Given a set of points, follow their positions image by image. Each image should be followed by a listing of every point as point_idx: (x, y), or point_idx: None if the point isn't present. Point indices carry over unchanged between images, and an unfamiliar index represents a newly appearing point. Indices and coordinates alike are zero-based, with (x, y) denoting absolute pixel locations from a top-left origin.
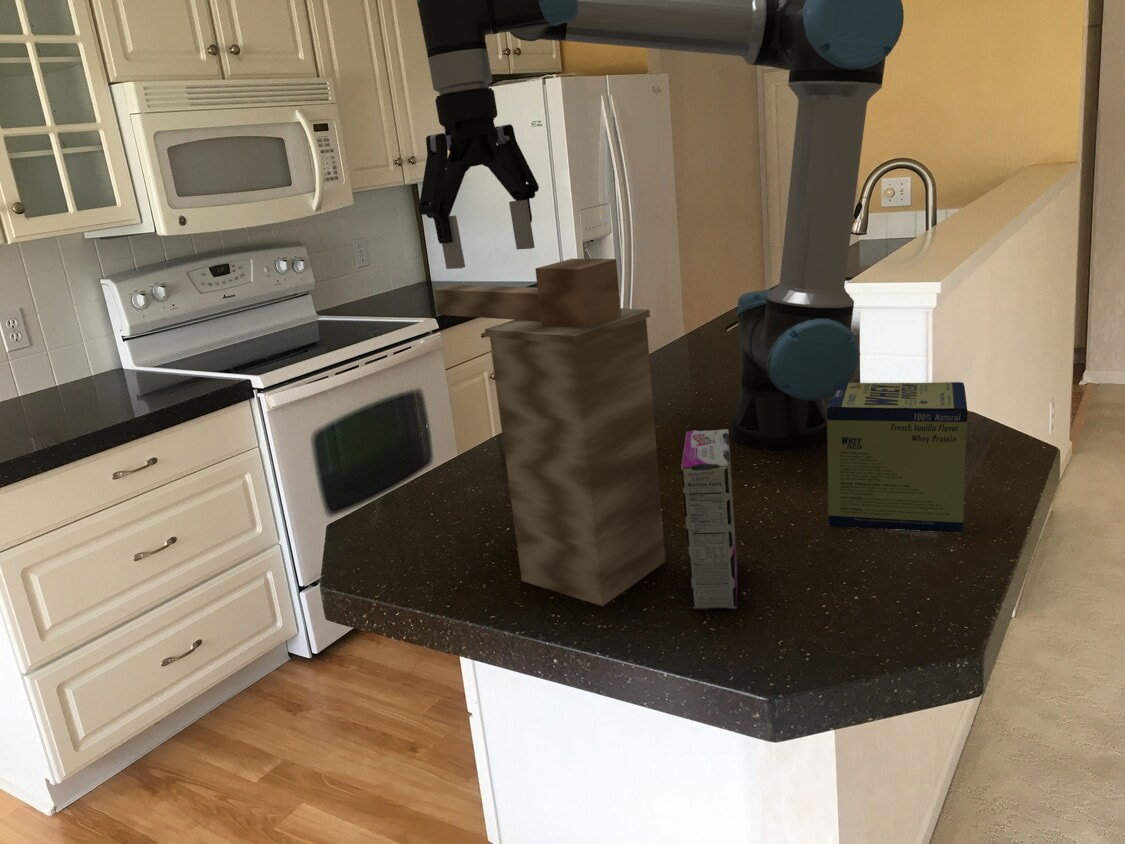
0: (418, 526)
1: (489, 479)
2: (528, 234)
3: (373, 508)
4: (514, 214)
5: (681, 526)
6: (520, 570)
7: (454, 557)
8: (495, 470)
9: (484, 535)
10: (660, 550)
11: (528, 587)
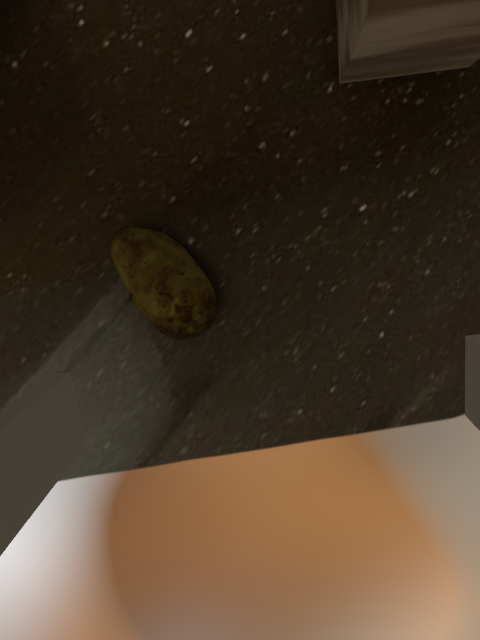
0: (418, 318)
1: (257, 360)
2: (42, 397)
3: (408, 418)
4: (3, 520)
5: (236, 4)
6: (475, 61)
7: (461, 199)
8: (230, 378)
9: (394, 218)
10: None
11: None
